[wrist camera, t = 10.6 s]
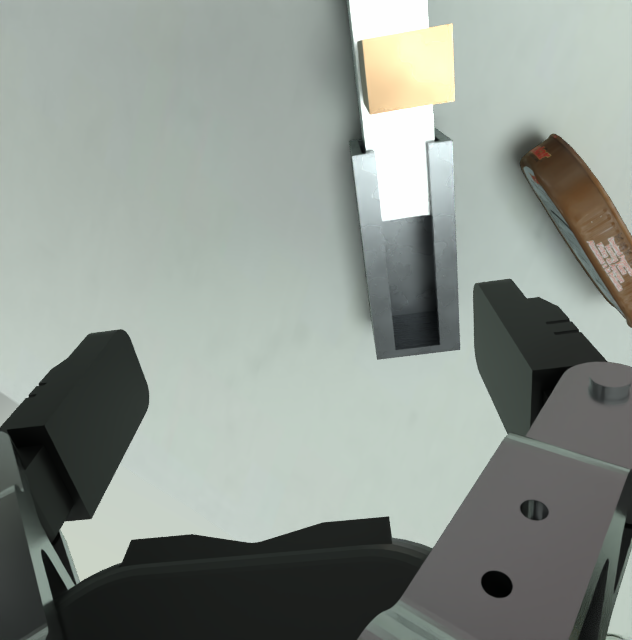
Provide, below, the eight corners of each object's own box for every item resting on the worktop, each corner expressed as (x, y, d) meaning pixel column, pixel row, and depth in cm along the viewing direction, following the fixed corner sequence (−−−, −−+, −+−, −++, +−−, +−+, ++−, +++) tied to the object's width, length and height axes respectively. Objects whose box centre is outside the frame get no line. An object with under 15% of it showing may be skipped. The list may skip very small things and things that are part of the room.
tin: (631, 278, 41) (697, 329, 34) (594, 301, 42) (650, 355, 35) (538, 122, 36) (592, 141, 28) (498, 152, 37) (540, 178, 29)
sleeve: (371, 321, 43) (377, 359, 38) (349, 141, 37) (352, 156, 31) (444, 312, 43) (460, 349, 37) (434, 127, 36) (452, 140, 31)
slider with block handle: (369, 205, 38) (383, 259, 28) (335, -101, 30) (337, -176, 20) (427, 197, 37) (461, 248, 28) (408, -116, 29) (447, -201, 20)
